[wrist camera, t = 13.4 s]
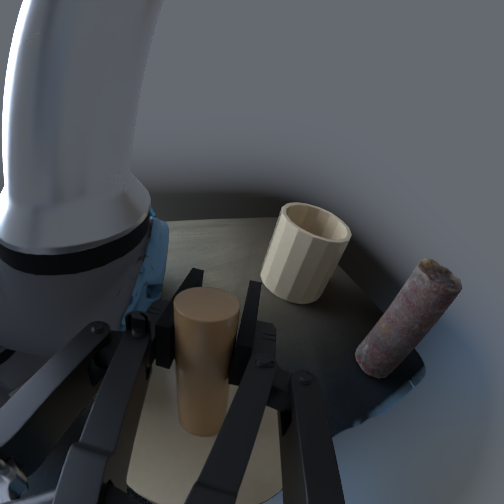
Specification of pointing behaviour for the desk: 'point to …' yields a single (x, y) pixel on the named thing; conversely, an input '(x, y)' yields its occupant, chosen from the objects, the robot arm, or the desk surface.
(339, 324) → the desk surface
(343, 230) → the beige cup
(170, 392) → the jug lid
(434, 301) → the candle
